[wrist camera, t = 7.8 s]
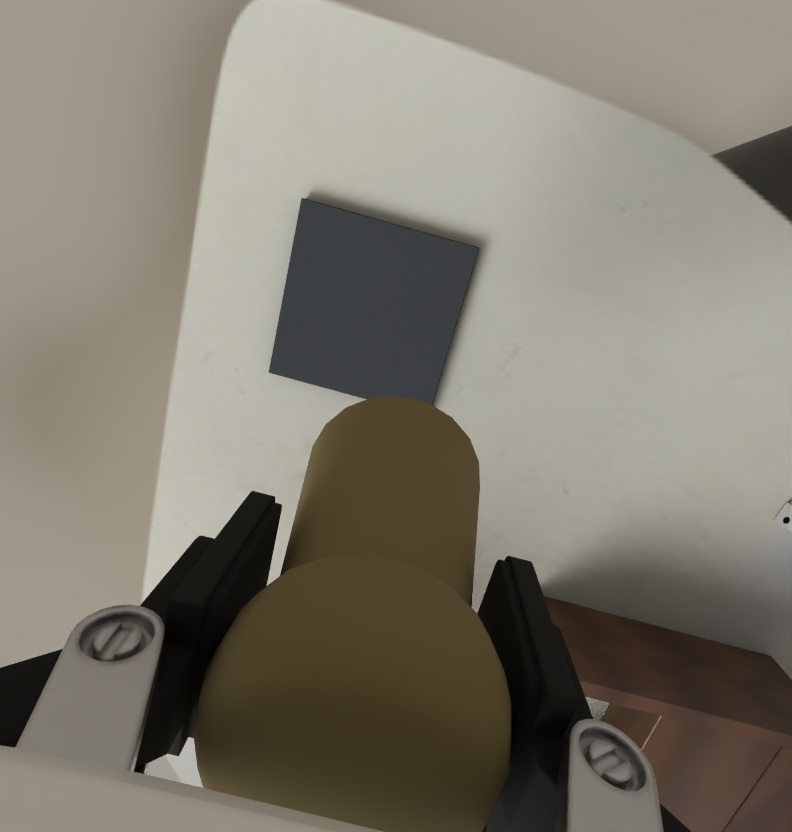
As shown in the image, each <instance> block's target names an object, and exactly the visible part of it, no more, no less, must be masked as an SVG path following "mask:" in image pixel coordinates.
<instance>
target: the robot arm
mask: <svg viewBox="0 0 792 832" xmlns="http://www.w3.org/2000/svg"><path fill="white" fill-rule="evenodd" d="M281 509H282V505H281V504H277V503H275V496H271V495H267V494H263V493H259V492H255V491H252V492H251V493H250V494H249V495H248V496H247V498H246V499H245V500H244V502H243V503H242V504H241V506H240V507H239V508H238V509H237V511H236V512H235V513H234V515H233V516H232V517H231V519H230V520H229V521H228V523H227V524H226V525H225V527H224V528H223V529H222V530H221V532H220V533H219V534H218V536H217V537H216V538H215V539H213V538H209V537H205V536H199V537H198V538H196V539H195V540H194V542H193V543H192V544H191V545H190V546H189V548H188V549H187V550H186V551H185V552H184V554H183V555H182V556H181V557H180V558H179V560H178V561H177V562H176V563H175V564H174V566H173V567H172V568H171V569H170V571H169V572H168V573H167V574H166V575H165V577H164V578H163V579H162V580H161V581H160V583H159V584H158V585H157V586H156V587H155V589H154V590H153V591H152V592H151V593H150V595H149V596H148V597H147V598H146V599H145V601H144V602H143V603H142V604H141V605H140V606H134V605H119V606H112V607H109V608H105V609H101V610H99V611H97V612H95V613H93V614H91V615H89V616H87V617H86V618H85V619H83V620H82V621H81V622H79V623H78V624H77V625H76V627H75V628H74V629H73V631H72V632H71V634H70V635H69V638H68V639H67V642H66V644H65V646H64V648H63V649H61V650H58V651H55V652H51V653H48V654H45V655H42V656H38V657H35V658H31V659H28V660H25V661H22V662H18V663H15V664H12V665H8V666H5V667H2V668H0V832H383V831H379V830H375V829H371V828H367V827H363V826H359V825H355V824H351V823H346V822H342V821H338V820H334V819H330V818H326V817H322V816H318V815H313V814H309V813H305V812H301V811H297V810H293V809H289V808H285V807H280V806H276V805H272V804H268V803H264V802H259V801H255V800H251V799H247V798H242V797H238V796H234V795H230V794H226V793H221V792H217V791H213V790H209V789H204V788H200V787H196V786H192V785H188V784H183V783H179V782H175V781H170V780H166V779H162V778H158V777H154V776H149V775H146V773H147V768H148V763H149V762H151V761H153V760H155V759H157V758H159V757H161V756H163V755H166V754H167V753H168V754H172V755H176V756H179V755H180V753H181V751H182V749H183V747H184V745H185V743H186V741H187V739H188V737H191V738H194V729H195V722H196V715H197V708H198V702H199V696H200V692H201V688H202V683H203V679H204V675H205V670H206V667H207V665H208V664H209V662H210V660H211V658H212V657H213V655H214V653H215V651H216V649H217V648H218V646H219V644H220V642H221V641H222V639H223V637H224V636H225V634H226V633H227V631H228V629H229V628H230V626H231V625H232V623H233V621H234V620H235V618H236V617H237V615H238V613H239V612H240V610H241V609H242V608H243V607H244V606H245V605H246V604H247V603H248V602H249V601H250V600H251V599H252V598H253V597H254V596H255V595H257V594H258V593H259V592H260V591H261V590H262V589H264V588H265V587H266V585H267V580H268V575H269V570H270V565H271V560H272V555H273V550H274V545H275V540H276V535H277V530H278V525H279V520H280V514H281ZM477 615H478V616H479V618H480V620H481V622H482V624H483V625H484V627H485V629H486V631H487V633H488V635H489V637H490V639H491V641H492V644H493V646H494V648H495V650H496V653H497V655H498V657H499V660H500V662H501V664H502V667H503V669H504V671H505V675H506V679H507V684H508V689H509V694H510V699H511V725H512V743H511V754H510V765H509V774H508V776H507V778H506V781H505V783H504V785H503V788H502V790H501V792H500V794H499V797H498V799H497V801H496V804H495V806H494V808H493V810H492V812H491V814H490V816H489V819H488V821H487V823H486V831H487V832H691V831H690V830H689V829H688V828H687V827H686V826H685V825H684V824H682V823H681V822H680V821H679V820H678V819H677V818H676V817H675V816H674V815H673V814H671V813H670V812H669V811H668V810H667V809H666V808H665V807H664V806H663V805H662V804H661V803H659V798H658V791H657V784H656V778H655V775H654V772H653V768H652V766H651V764H650V762H649V761H648V759H647V757H646V756H645V754H644V753H643V751H642V750H641V749H640V748H639V747H638V746H637V744H636V743H635V742H634V741H633V740H632V739H630V738H629V737H628V736H627V735H626V734H624V733H623V732H622V731H620V730H619V729H617V728H615V727H614V726H612V725H610V724H608V723H605V722H602V721H600V720H593V717H592V715H591V712H590V709H589V706H588V703H587V701H586V698H585V695H584V692H583V689H582V687H581V684H580V681H579V678H578V675H577V673H576V670H575V667H574V664H573V661H572V659H571V656H570V653H569V650H568V647H567V645H566V642H565V639H564V636H563V633H562V631H561V629H560V627H558V626H557V625H555V624H553V622H552V619H551V616H550V613H549V611H548V608H547V605H546V602H545V599H544V596H543V593H542V590H541V587H540V584H539V581H538V578H537V575H536V572H535V570H534V567H533V564H532V562H530V561H527V560H523V559H519V558H515V557H511V556H507V557H506V559H505V560H504V561H503V560H498V561H497V562H496V565H495V567H494V570H493V573H492V575H491V578H490V581H489V584H488V586H487V589H486V592H485V594H484V597H483V600H482V603H481V605H480V608H479V611H478V613H477Z"/></svg>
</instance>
